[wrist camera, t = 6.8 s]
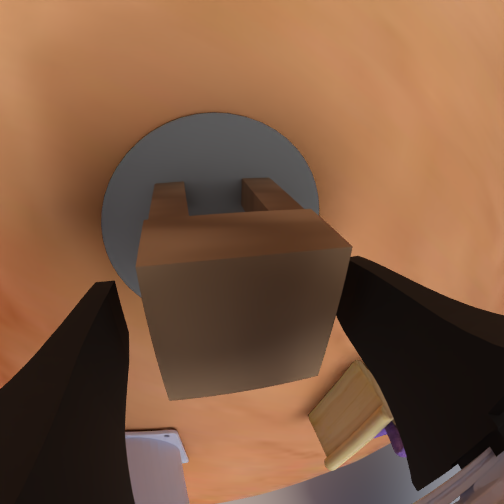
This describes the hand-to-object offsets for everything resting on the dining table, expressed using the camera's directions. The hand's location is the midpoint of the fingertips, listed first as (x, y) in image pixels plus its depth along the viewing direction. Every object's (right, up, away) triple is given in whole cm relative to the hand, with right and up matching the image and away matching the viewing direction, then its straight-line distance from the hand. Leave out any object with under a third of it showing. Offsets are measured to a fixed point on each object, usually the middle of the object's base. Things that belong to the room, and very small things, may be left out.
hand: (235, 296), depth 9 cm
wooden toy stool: (-1, +2, +4) cm, 5 cm away
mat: (-1, +3, +5) cm, 5 cm away
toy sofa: (+16, -13, +19) cm, 28 cm away
